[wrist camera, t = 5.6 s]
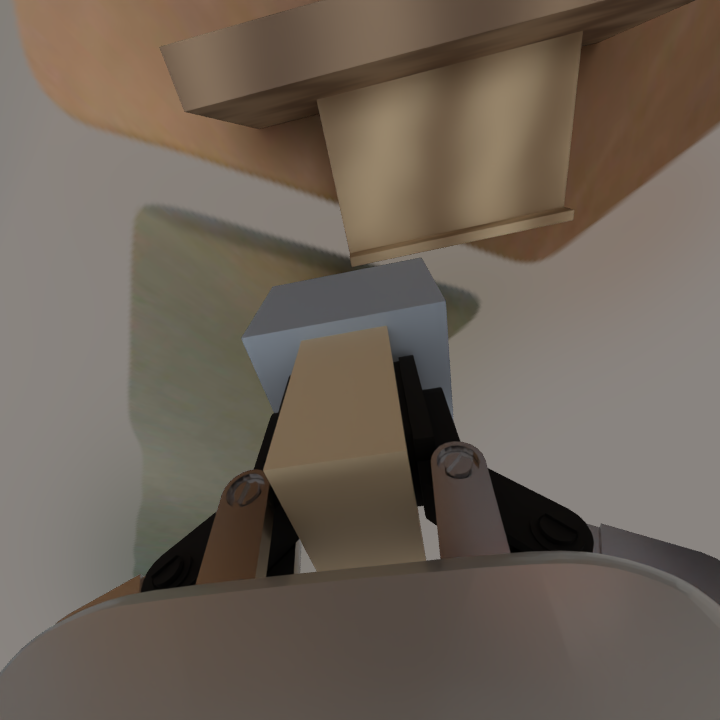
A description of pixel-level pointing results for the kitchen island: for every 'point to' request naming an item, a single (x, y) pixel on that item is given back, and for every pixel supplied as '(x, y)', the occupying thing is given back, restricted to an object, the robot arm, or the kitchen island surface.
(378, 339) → the stacked toy blocks
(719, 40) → the kitchen island surface
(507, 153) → the wooden toy bench
